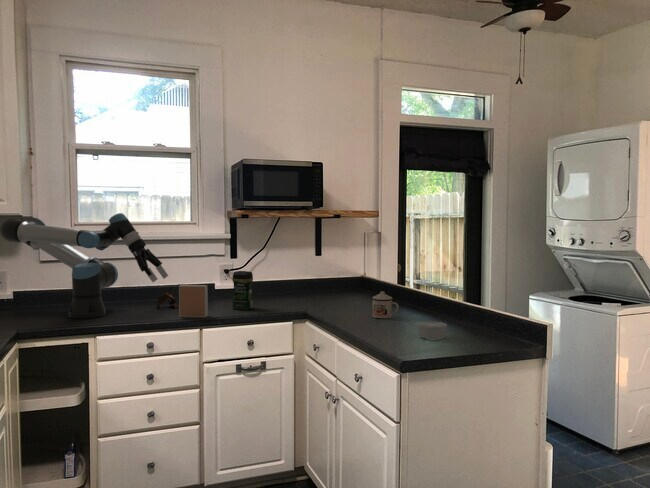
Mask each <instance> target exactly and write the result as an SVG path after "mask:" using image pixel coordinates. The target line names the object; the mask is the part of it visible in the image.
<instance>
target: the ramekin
mask: <svg viewBox="0 0 650 488" xmlns="http://www.w3.org/2000/svg"><path fill="white" fill-rule="evenodd" d="M416 327H417V335H418V337H419V336H420V337H423V338H429V339H438V338H444V339H445V337H446V332H447V328H448V324H447V323H444V322H440V321H430V320H428V321H427V320H425V321H418V322H417V323H416ZM420 337H419V338H420Z"/></svg>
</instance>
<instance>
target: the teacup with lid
mask: <svg viewBox="0 0 650 488" xmlns="http://www.w3.org/2000/svg"><path fill="white" fill-rule="evenodd" d="M371 300H372V318H373V317H375V318H390V319H392V318H391V317H393V314H396V313H397V312H398V311H399V304H398V303H397V302H394V301H393V297H392V296H390V295H388V294H386V292H385V291H380V292H379V293H378V294H376V295H374V296H372V299H371ZM393 305H395V306H396V309H395V311H393ZM375 318H374V319H375Z"/></svg>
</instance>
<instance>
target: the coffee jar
mask: <svg viewBox="0 0 650 488" xmlns="http://www.w3.org/2000/svg"><path fill="white" fill-rule="evenodd" d="M231 280H232V283H233V295H232V296H233V297H232V309H233V310H237V311H239V310H240V311H247V310H249V309H250V310H252V309H253V307H254V302H253V300H254V299H253V287H252V286H253V281H254V276H253V272H252V271H248V270H236V271H233V272H232V279H231Z"/></svg>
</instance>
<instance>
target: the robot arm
mask: <svg viewBox="0 0 650 488" xmlns="http://www.w3.org/2000/svg"><path fill="white" fill-rule="evenodd" d="M108 222H109V225H108V226H107V227H105V228H104V229H102V230H87V229H78V228H77V229H76V228H69V227H67V228H66V227H60V226H59V227H58V226H49V225H46V224H45V222H44V221H43V220H42V219H40V218H37V217H34V216H26V217H19V216H18V217H15V216H14V217H9V218H6V219H5V220H3V221H2V222H1V224H0V236H1V238H2V239H4V240H5V241H6V242H9V243H23V244H25V245H27V246H29V247H30V248H31V249H40V250H41V251H42V252H45V253H46V254H48V255H49V256H51V257H53V258H54V259H56V260H57V261H59V262H61V263H62V264H64V265H66V266H68V267H69V268H70V269H71V271H72V272H71V281H72V282H71V283H72V289H71V290H72V301H71V303H70V308H69V310H68V318H71V319H78V320H79V319H81V320H82V319H83V320H84V319H93V318H100V317H103V316H106V314H107V313H106V312H107V311H106V310H107V309H106V307H105V304H104V302H103V299H102V289H107V288H109V287H112V286H113V285H114V284H116V282H117V280H118V278H119V271H118V269H117V266H115V265H114V264H113V263H112V262H108V261H107V262H104V261H102V260H101V259H99V258H98V257H90V256H88V255H86V254H85V253H83V252H81V251H80V250H79V249H77V248H76V247H82V248H84V249H94V248H95V249H96V250H99V251H104V250H105V249H107V248H109V247H110V246H111V245H112V244H114V243H116V241H118V240H120V239H121V241H122V242H123V243H124V244H125V246H126V247H127V249H128V250H129V251H130V253H131V254H132V255H133V256H134V258H135V260H136V263H137V266H138V267H139V270H140V271H141V272H143V273H144V272H145V274H146V275H147V277H148V278H149V280H151V282H152V283H155V282H156V281H157V280H158V277H157V275H156V274H155V273H154V272H153V270H152V269H151V267H149V265H148V262H150V264H152V265H153V266H154V267H155V269H156V271H157V272H158V274H159V275H160V276H161V278H162V279H163V280H164V279H166V278H167V277H168V276H169V274H168V273H167V271H166V270H165V268H164V267H163V265H162V264H163V262H162V261H161V260H160V259H159V258H158V257H157V256H156V255H155V254H154V253H152V252H151V250H150V249H149V248H147V249H146V248H145V247H146V246H147V244H146V242H145V240H143V239H142V238H141V236H140V234H139V232H138V231H137V229H135V227H134V226H133V225H132V223H131V221H130V220H129V218H127V216H126V215H125V214H124V213H123V212H118V213H115V214H114V215H112V216H111V217H110V218H109V219H108ZM73 246H74V247H73ZM75 246H76V247H75ZM147 261H148V262H147Z"/></svg>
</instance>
